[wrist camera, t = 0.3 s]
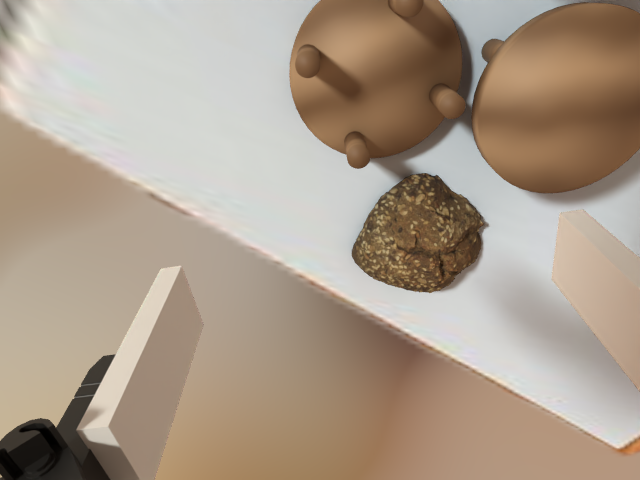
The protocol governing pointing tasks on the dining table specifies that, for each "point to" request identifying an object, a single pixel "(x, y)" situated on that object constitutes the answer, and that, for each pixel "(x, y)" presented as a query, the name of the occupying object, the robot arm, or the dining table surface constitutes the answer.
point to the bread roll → (419, 235)
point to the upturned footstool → (376, 74)
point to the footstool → (561, 98)
